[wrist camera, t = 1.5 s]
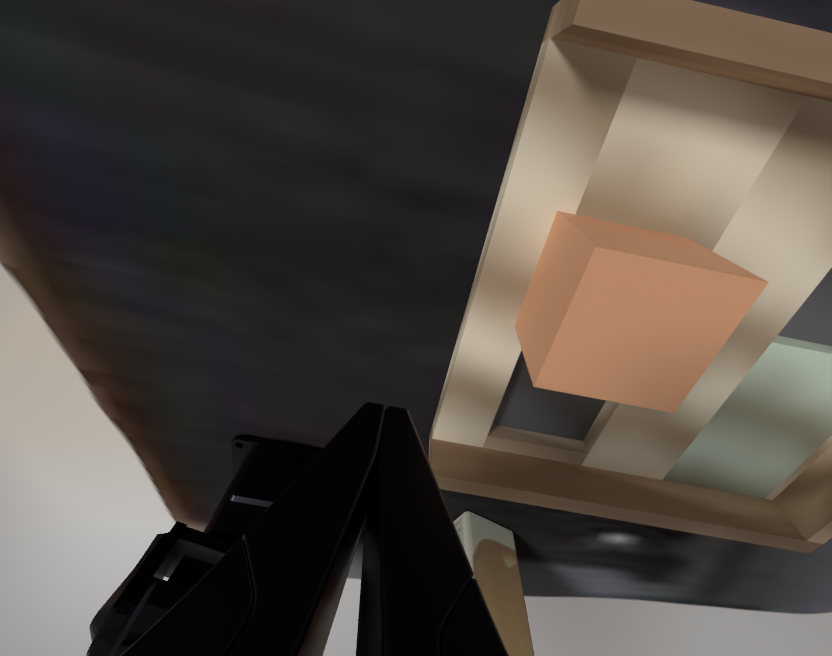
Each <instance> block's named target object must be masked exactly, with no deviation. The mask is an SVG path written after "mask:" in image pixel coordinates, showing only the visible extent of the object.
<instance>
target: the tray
mask: <svg viewBox="0 0 832 656" xmlns="http://www.w3.org/2000/svg"><path fill="white" fill-rule="evenodd" d="M557 211H561V212H566V213H571V214H575V215H580V216H585V217H590V218H595V219H599V220H604V221H609V222H614V223H619V224H623V225H628V226H633V227H638V228H643V229H647V230H652V231H657V232H662V233H667V234H671V235H676V236H681V237H686V238H689V239H691V240H692V241H694V242H696V243H698V244H700V245H702V246H703V247H705V248H707V249H709V250H711V251H713V252H714V253H716V254H718V255H720V256H722V257H724V258H725V259H727V260H729V261H731V262H733V263H735V264H736V265H738V266H740V267H742V268H744V269H746V270H747V271H749V272H751V273H753V274H755V275H757V276H758V277H760V278H762V279H764V280H766V281H768V282H769V283H768V284H767V286H766V287H765V288H764V290H763V291H762V292H761V294H760V295H759V297H758V298H757V299H756V301H755V302H754V304H753V305H752V306H751V308H750V309H749V310H748V312H747V313H746V315H745V316H744V317H743V319H742V320H741V322H740V323H739V324H738V326H737V327H736V328H735V330H734V331H733V333H732V334H731V335H730V337H729V338H728V340H727V341H726V342H725V344H724V345H723V346H722V348H721V349H720V351H719V352H718V353H717V355H716V356H715V357H714V359H713V360H712V362H711V363H710V364H709V366H708V367H707V369H706V370H705V371H704V373H703V374H702V375H701V377H700V378H699V380H698V381H697V382H696V384H695V385H694V387H693V388H692V389H691V391H690V392H689V393H688V395H687V396H686V398H685V399H684V400H683V402H682V403H681V405H680V406H679V407H678V409H677V410H676V411H675V413H670V412H665V411H659V410H654V409H649V408H644V407H638V406H633V405H628V404H622V403H617V402H612V401H606V400H601V399H596V398H590V397H585V396H580V395H575V394H569V393H564V392H559V391H553V390H548V389H543V388H537V387H534V386H533V383H532V380H531V377H530V374H529V371H528V368H527V365H526V361H525V358H524V355H523V352H522V349H521V346H520V343H519V340H518V336H517V333H516V330H515V327H514V326H515V323H516V320H517V318H518V315H519V312H520V310H521V307H522V304H523V302H524V299H525V296H526V293H527V291H528V288H529V285H530V283H531V280H532V277H533V275H534V272H535V269H536V267H537V264H538V261H539V258H540V256H541V253H542V250H543V248H544V245H545V242H546V240H547V237H548V234H549V232H550V229H551V226H552V223H553V221H554V218H555V215H556V213H557ZM428 461H429V463H430V466H431V468H432V471H433V473H434V476H435V478H436V480H437V483H438V485H439V488H440V489H444V490H450V491H456V492H461V493H467V494H473V495H478V496H484V497H490V498H496V499H501V500H507V501H513V502H518V503H524V504H530V505H535V506H541V507H547V508H553V509H558V510H564V511H570V512H575V513H581V514H587V515H592V516H598V517H604V518H610V519H615V520H621V521H627V522H632V523H638V524H644V525H649V526H655V527H661V528H666V529H672V530H678V531H684V532H689V533H695V534H701V535H706V536H712V537H718V538H723V539H729V540H735V541H741V542H746V543H752V544H758V545H763V546H769V547H775V548H780V549H786V550H792V551H797V552H803V553H809V554H811V553H812V552H814V551H815V550H816V549H818V548H819V547H820V546H822V545H823V544H824V543H826V542H827V541H828V540H829V539H831V538H832V33H828V32H824V31H820V30H816V29H811V28H807V27H803V26H799V25H794V24H790V23H786V22H782V21H777V20H773V19H769V18H764V17H760V16H756V15H752V14H747V13H743V12H739V11H735V10H730V9H726V8H722V7H718V6H713V5H709V4H705V3H700V2H696V1H692V0H560V1H559V2H558V3H557V4H556V5H554V6H553V7H552V11H551V14H550V18H549V21H548V24H547V28H546V31H545V35H544V38H543V42H542V45H541V49H540V52H539V56H538V59H537V63H536V66H535V70H534V73H533V77H532V80H531V84H530V87H529V91H528V94H527V98H526V101H525V105H524V108H523V112H522V115H521V119H520V122H519V125H518V129H517V132H516V136H515V139H514V143H513V146H512V150H511V153H510V157H509V160H508V164H507V167H506V171H505V174H504V178H503V181H502V185H501V188H500V192H499V195H498V199H497V202H496V206H495V209H494V213H493V216H492V220H491V223H490V226H489V230H488V233H487V237H486V240H485V244H484V247H483V251H482V254H481V258H480V261H479V265H478V268H477V272H476V275H475V279H474V282H473V286H472V289H471V293H470V296H469V300H468V303H467V307H466V310H465V314H464V317H463V320H462V324H461V327H460V331H459V334H458V338H457V341H456V345H455V348H454V352H453V355H452V359H451V362H450V366H449V369H448V373H447V376H446V380H445V383H444V387H443V390H442V394H441V397H440V401H439V404H438V408H437V411H436V415H435V418H434V421H433V425H432V428H431V432H430V436H429V460H428Z"/></svg>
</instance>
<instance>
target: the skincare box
mask: <svg viewBox="0 0 832 656" xmlns="http://www.w3.org/2000/svg"><path fill="white" fill-rule="evenodd" d="M453 523H454V525H455V528H456V530H457V533H458V535H459V538H460V540H461V543H462V545H463V548H464V550H465V553H466V555H467V558H468V560H469V563H470V565H471V567H472V570H473V572H474V576H473V578H475V579H476V580H477V582H478V584H479V587H480V589H481V592H482V594H483V597H484V599H485V602H486V604H487V607H488V609H489V611H490V614H491V616H492V618H493V620H494V623H495V625H496V627H497V630H498V632H499V634H500V637H501V639H502V641H503V644H504V646H505V648H506V650H507V652H508V654H509V656H534V651H533V646H532V640H531V635H530V628H529V623H528V617H527V611H526V605H525V600H524V594H523V589H522V583H521V578H520V572H519V566H518V560H517V554H516V548H515V543H514V537H513V532H512V531H510V530H508V529H506V528H504V527H502V526H500V525H498V524H496V523H494V522H492V521H490V520H487V519H485V518H483V517H481V516H478V515H476V514H474V513H472V512H470V511H466V512H464V513H463V514H462V515H461V516H460V517H458V518H457V519H456V520H455V521H454V522H453Z"/></svg>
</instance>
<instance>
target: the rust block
mask: <svg viewBox="0 0 832 656" xmlns="http://www.w3.org/2000/svg"><path fill="white" fill-rule="evenodd" d="M768 283H769V282H768V281H766V280H764V279H762V278H760V277H758V276H757V275H755V274H753V273H751V272H749V271H747V270H746V269H744V268H742V267H740V266H738V265H736V264H735V263H733V262H731V261H729V260H727V259H725V258H724V257H722V256H720V255H718V254H716V253H714V252H713V251H711V250H709V249H707V248H705V247H703V246H702V245H700V244H698V243H696V242H694V241H692V240H691V239H689V238H686V237H681V236H676V235H671V234H667V233H662V232H657V231H652V230H647V229H643V228H638V227H633V226H628V225H623V224H619V223H614V222H609V221H604V220H599V219H595V218H590V217H585V216H580V215H575V214H571V213H566V212H561V211H557V213H556V215H555V218H554V221H553V223H552V226H551V229H550V232H549V234H548V237H547V240H546V242H545V245H544V248H543V250H542V253H541V256H540V258H539V261H538V264H537V267H536V269H535V272H534V275H533V277H532V280H531V283H530V285H529V288H528V291H527V293H526V296H525V299H524V302H523V304H522V307H521V310H520V312H519V315H518V318H517V320H516V323H515V326H514V327H515V330H516V333H517V336H518V340H519V343H520V346H521V349H522V352H523V355H524V358H525V361H526V365H527V368H528V371H529V374H530V377H531V380H532V383H533V386H534V387H537V388H543V389H548V390H553V391H559V392H564V393H569V394H575V395H580V396H585V397H590V398H596V399H601V400H606V401H612V402H617V403H622V404H628V405H633V406H638V407H644V408H649V409H654V410H659V411H665V412H670V413H675V411H676V410H677V409H678V407H679V406H680V405H681V403H682V402H683V400H684V399H685V398H686V396H687V395H688V393H689V392H690V391H691V389H692V388H693V387H694V385H695V384H696V382H697V381H698V380H699V378H700V377H701V375H702V374H703V373H704V371H705V370H706V369H707V367H708V366H709V364H710V363H711V362H712V360H713V359H714V357H715V356H716V355H717V353H718V352H719V351H720V349H721V348H722V346H723V345H724V344H725V342H726V341H727V340H728V338H729V337H730V335H731V334H732V333H733V331H734V330H735V328H736V327H737V326H738V324H739V323H740V322H741V320H742V319H743V317H744V316H745V315H746V313H747V312H748V310H749V309H750V308H751V306H752V305H753V304H754V302H755V301H756V299H757V298H758V297H759V295H760V294H761V292H762V291H763V290H764V288H765V287H766V286H767V284H768Z"/></svg>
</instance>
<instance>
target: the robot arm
mask: <svg viewBox="0 0 832 656" xmlns="http://www.w3.org/2000/svg"><path fill="white" fill-rule="evenodd" d="M385 414H386V415H385ZM231 445H232V456H233V466H234V478H233V480H232V482H231V484H230V486H229V487H228V489H227V491H226V493H225V494H224V496H223V498H222V500H221V502H220V503H219V505H218V507H217V509H216V510H215V512H214V514H213V516H212V518H211V519H210V521H209V523H208V525H207V526H206V528H205V530H204V532H201V531H198V530H195V529H192V528H189V527H187V524H184V523H181V522H178V521H177V522H176V523H175V525H174V526H173V528H172V529H171V531H170V532H168V533H164V534H157V536H156V537H155V539H154V540H153V542H152V543H151V545H150V546H149V548H148V549H147V551H146V552H145V554H144V555H143V557H142V558H141V560H140V561H139V563H138V564H137V565H136V567H135V568H134V569H133V570H132V572H131V573H130V574H129V575H128V577H127V578H126V579H125V580H124V581H123V582H122V584H121V585H120V586H119V587H118V588H117V590H116V591H115V592H114V593H113V594H112V596H111V597H110V598H109V599H108V600H107V602H106V603H105V604H104V605H103V606H102V608H101V609H100V610H99V611H98V613H97V614H96V616H95V617H94V619H93V620H92V622H91V624H90V633H91V639H92V644H91V645H90V647H89V650H88V652H87V656H323V652H324V649H325V646H326V643H327V640H328V636H329V633H330V630H331V627H332V623H333V620H334V617H335V614H336V611H337V608H338V605H339V601H340V598H341V595H342V591H343V589H344V585H345V582H346V579H347V576H348V573H349V570H350V566H351V563H352V560H353V557H354V554H355V550H356V547H357V544H358V541H359V538H360V534H361V531H362V528H363V524H364V521H365V516H366V512H367V516H366V524H365V534H364V548H363V562H362V577H361V593H360V605H359V619H358V633H357V648H356V656H509V654H508V652H507V650H506V648H505V646H504V644H503V641H502V639H501V637H500V634H499V632H498V630H497V627H496V625H495V623H494V620H493V618H492V616H491V614H490V611H489V609H488V607H487V604H486V602H485V599H484V597H483V594H482V592H481V589H480V587H479V584H478V582H477V580H476V579H475V578H473V576H474V572H473V570H472V567H471V565H470V563H469V560H468V558H467V555H466V553H465V550H464V548H463V545H462V543H461V540H460V538H459V535H458V533H457V530H456V528H455V525H454V523H453V520H452V518H451V515H450V513H449V510H448V508H447V505H446V503H445V500H444V498H443V495H442V493H441V490H440V488H439V485H438V483H437V480H436V478H435V476H434V473H433V471H432V468H431V466H430V463H429V461H428V458H427V456H426V453H425V451H424V448H423V446H422V443H421V441H420V438H419V436H418V433H417V431H416V428H415V426H414V423H413V421H412V418H411V416H410V413H409V411H408V410H407V409H404V408H399V407H393V406H389V407H388V408H387V410H386V406H385V405H382V404H377V403H372V402H367V403H365V404H364V405H363V406H362V407H361V408H360V409H359V410H358V411H357V413H356V414H355V415H354V416H353V417H352V418H351V419H350V420H349V421H348V422H347V423H346V424H345V425H344V427H343V428H342V429H341V430H340V431H339V432H338V433H337V434H336V435H335V436H334V437H333V438H332V439H331V441H330V442H329V443H328V444H327V445H326V446H325V447H324V448H323V449H317V448H312V447H306V446H301V445H295V444H289V443H284V442H278V441H272V440H267V439H261V438H255V437H250V436H244V435H237V436H235V438H234V439H233V441H232V443H231ZM372 482H373V483H372ZM371 487H372V488H371ZM370 492H371V493H370ZM369 497H370V498H369ZM368 502H369V504H368ZM367 507H368V509H367ZM164 576H165V577H168V578H169V579H168V581H165V580H162V579H163V578H164Z"/></svg>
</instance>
